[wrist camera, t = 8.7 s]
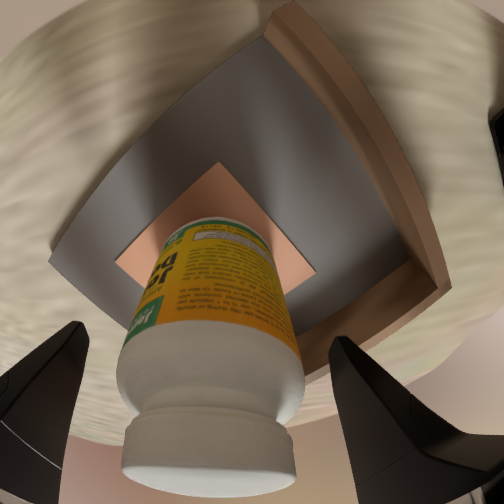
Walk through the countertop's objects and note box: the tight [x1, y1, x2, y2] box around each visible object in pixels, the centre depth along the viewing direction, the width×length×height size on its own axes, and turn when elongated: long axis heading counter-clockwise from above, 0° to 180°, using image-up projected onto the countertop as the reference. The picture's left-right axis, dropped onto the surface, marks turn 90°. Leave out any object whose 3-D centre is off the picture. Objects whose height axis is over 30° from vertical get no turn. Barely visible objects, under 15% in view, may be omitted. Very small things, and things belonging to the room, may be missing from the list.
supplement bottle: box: [116, 217, 305, 498], centre depth 9 cm, size 5×5×10 cm
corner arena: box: [48, 0, 452, 385], centre depth 12 cm, size 16×14×4 cm
